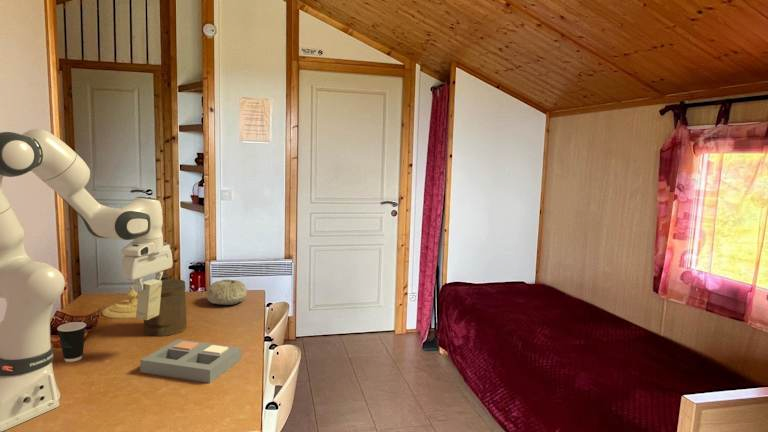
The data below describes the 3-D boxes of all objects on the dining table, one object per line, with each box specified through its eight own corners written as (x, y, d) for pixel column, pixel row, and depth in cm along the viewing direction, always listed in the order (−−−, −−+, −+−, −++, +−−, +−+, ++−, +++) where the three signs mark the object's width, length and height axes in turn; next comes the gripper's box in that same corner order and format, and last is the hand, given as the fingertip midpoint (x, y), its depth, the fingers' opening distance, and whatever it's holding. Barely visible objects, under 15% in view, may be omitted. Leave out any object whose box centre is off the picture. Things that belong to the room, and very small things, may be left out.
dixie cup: (88, 352, 164) (86, 320, 163) (87, 361, 157) (85, 328, 156) (59, 356, 160) (58, 323, 159) (57, 365, 153) (56, 331, 152)
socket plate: (210, 382, 145) (209, 368, 145) (140, 372, 151) (140, 358, 150) (241, 359, 163) (241, 346, 162) (177, 350, 168) (177, 337, 167)
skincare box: (146, 320, 160) (149, 285, 158) (135, 317, 161) (138, 282, 159) (159, 314, 166) (163, 280, 164) (148, 311, 167) (151, 277, 165)
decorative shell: (233, 310, 212) (233, 288, 211) (197, 306, 216) (197, 284, 215) (253, 299, 229) (253, 278, 228) (219, 295, 233) (219, 275, 232)
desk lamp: (107, 301, 219) (104, 212, 214) (163, 298, 226) (162, 212, 222) (92, 324, 190) (88, 222, 185) (157, 319, 198) (155, 221, 193)
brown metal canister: (170, 320, 197) (169, 267, 195) (194, 328, 190) (193, 272, 187) (135, 330, 185) (133, 274, 182) (160, 339, 177) (158, 280, 175)
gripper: (161, 240, 171) (161, 279, 172) (116, 250, 151) (118, 294, 153) (177, 241, 169) (177, 280, 171) (134, 252, 150) (135, 296, 151)
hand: (149, 287), depth 162 cm, fingers closed on skincare box, 6 cm apart
